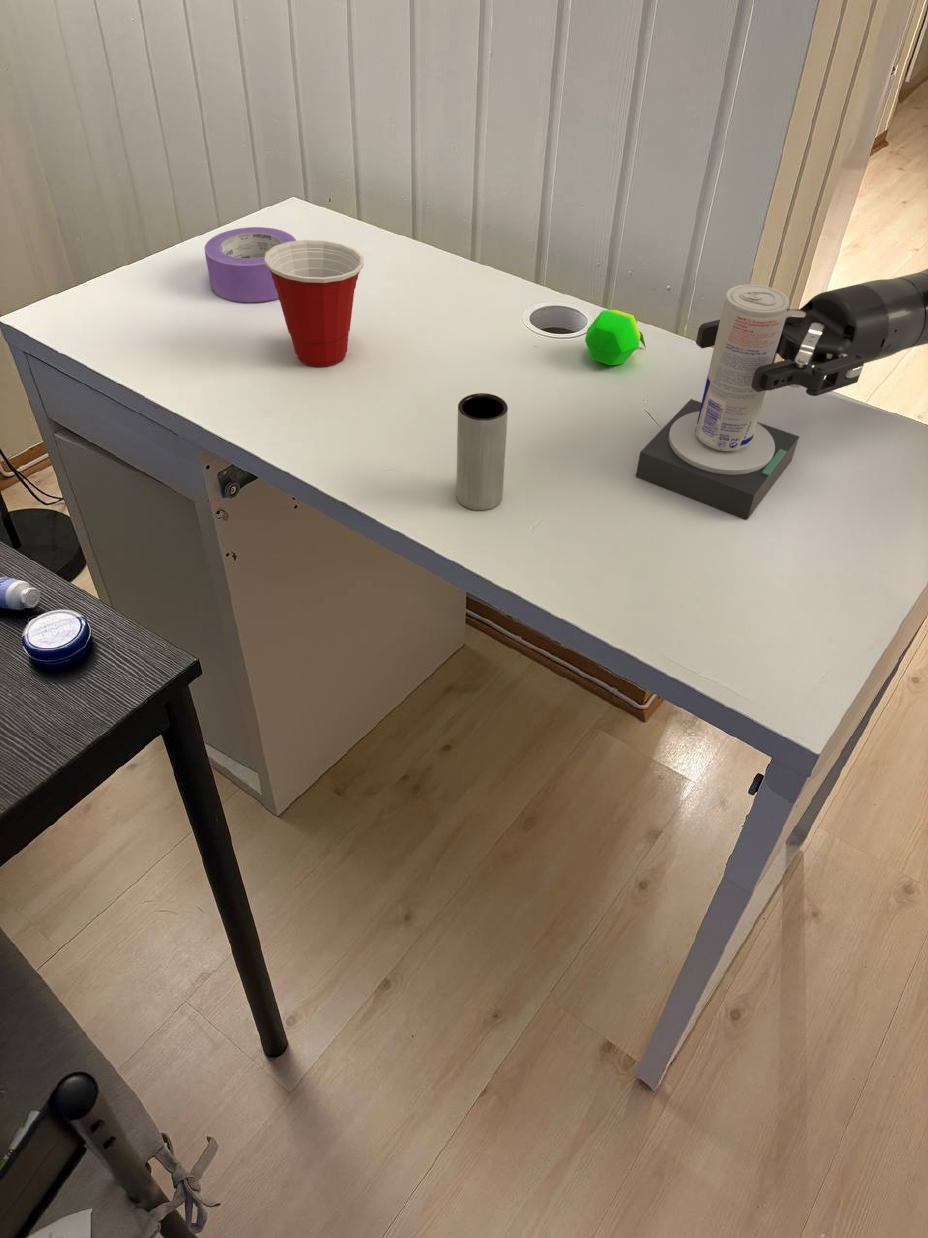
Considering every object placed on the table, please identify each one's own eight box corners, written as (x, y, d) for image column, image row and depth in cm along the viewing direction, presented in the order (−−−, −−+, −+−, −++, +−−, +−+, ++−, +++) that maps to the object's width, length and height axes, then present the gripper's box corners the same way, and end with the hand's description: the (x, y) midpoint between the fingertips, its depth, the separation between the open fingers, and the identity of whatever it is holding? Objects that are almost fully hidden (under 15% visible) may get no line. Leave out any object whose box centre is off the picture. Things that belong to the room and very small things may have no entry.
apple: (606, 313, 105) (641, 281, 111) (564, 335, 110) (600, 303, 115) (637, 368, 107) (670, 335, 113) (595, 388, 112) (629, 355, 118)
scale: (791, 460, 99) (801, 431, 96) (747, 520, 92) (755, 490, 89) (685, 422, 104) (692, 393, 101) (635, 476, 97) (640, 446, 94)
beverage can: (762, 448, 94) (803, 305, 84) (713, 459, 93) (749, 315, 82) (731, 418, 98) (766, 277, 87) (683, 428, 96) (714, 287, 86)
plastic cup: (387, 358, 112) (383, 259, 103) (310, 388, 107) (299, 286, 98) (335, 322, 118) (327, 225, 109) (259, 350, 113) (245, 250, 104)
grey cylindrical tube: (502, 511, 92) (508, 420, 85) (455, 510, 92) (457, 419, 85) (502, 483, 95) (507, 393, 88) (456, 482, 95) (458, 391, 88)
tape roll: (210, 265, 128) (204, 228, 125) (298, 259, 130) (294, 223, 126) (210, 306, 120) (203, 268, 117) (304, 300, 122) (300, 262, 118)
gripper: (823, 256, 95) (688, 286, 90) (929, 320, 86) (787, 357, 81) (802, 326, 100) (674, 358, 95) (901, 393, 91) (765, 432, 86)
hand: (726, 358), depth 88 cm, fingers open, 8 cm apart
